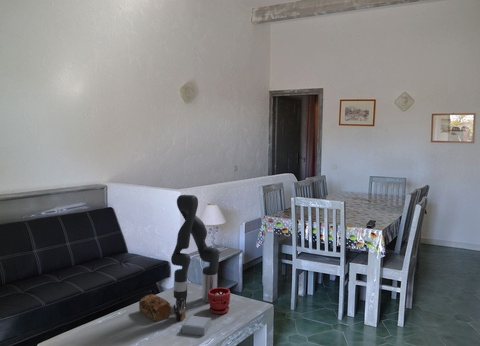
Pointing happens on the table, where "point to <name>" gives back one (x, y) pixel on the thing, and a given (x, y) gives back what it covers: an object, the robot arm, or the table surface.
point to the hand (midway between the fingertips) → (180, 318)
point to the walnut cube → (181, 315)
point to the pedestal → (196, 325)
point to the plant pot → (219, 300)
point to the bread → (155, 307)
